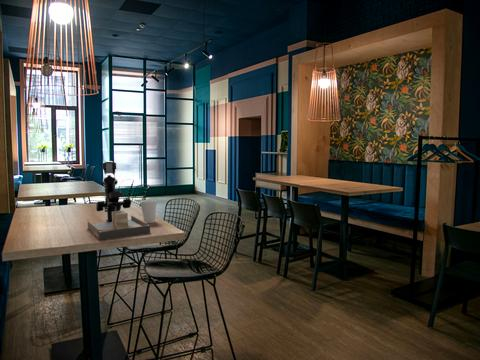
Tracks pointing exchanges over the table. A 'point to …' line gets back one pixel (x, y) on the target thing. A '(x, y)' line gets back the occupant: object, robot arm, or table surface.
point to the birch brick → (119, 219)
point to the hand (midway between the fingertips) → (117, 216)
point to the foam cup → (148, 210)
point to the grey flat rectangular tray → (109, 232)
